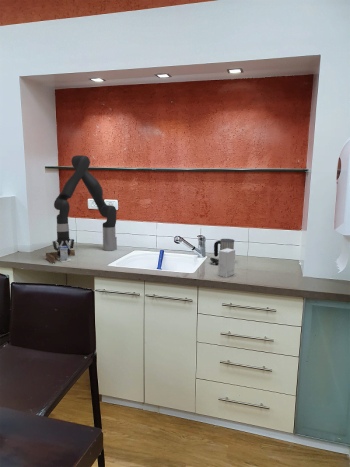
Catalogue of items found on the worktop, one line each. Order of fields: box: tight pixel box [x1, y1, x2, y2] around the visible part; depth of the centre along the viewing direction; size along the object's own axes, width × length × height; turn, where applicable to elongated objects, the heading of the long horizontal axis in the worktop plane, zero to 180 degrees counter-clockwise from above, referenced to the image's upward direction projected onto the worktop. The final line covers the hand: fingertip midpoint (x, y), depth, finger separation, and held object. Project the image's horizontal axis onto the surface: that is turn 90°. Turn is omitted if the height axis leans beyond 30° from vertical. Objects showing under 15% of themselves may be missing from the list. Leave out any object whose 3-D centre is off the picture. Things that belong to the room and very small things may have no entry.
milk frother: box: [209, 238, 235, 265], centre depth 224 cm, size 14×16×15 cm
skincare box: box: [217, 248, 236, 278], centre depth 197 cm, size 8×6×15 cm
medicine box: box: [60, 245, 69, 260], centre depth 228 cm, size 8×4×9 cm, turn 17°
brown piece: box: [45, 249, 76, 264], centre depth 229 cm, size 19×15×4 cm
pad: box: [55, 257, 73, 263], centre depth 228 cm, size 7×11×1 cm, turn 36°
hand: (64, 255), depth 228 cm, fingers closed on medicine box, 5 cm apart
